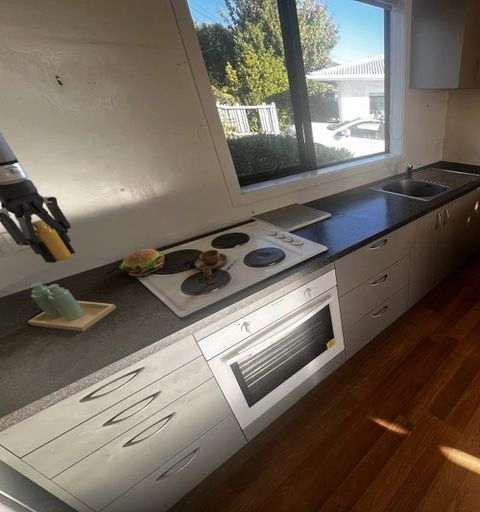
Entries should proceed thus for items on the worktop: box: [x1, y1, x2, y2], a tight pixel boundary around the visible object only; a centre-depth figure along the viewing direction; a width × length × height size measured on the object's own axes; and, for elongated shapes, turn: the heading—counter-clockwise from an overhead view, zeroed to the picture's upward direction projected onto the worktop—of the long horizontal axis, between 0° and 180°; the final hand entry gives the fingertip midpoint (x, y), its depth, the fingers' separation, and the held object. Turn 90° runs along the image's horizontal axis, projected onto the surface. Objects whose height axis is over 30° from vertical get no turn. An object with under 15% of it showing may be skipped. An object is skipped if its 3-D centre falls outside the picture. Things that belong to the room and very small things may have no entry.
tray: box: [27, 300, 117, 332], centre depth 92 cm, size 19×11×2 cm, turn 82°
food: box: [118, 248, 166, 277], centre depth 114 cm, size 14×14×8 cm
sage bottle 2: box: [47, 283, 84, 321], centre depth 89 cm, size 5×5×12 cm
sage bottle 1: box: [30, 281, 62, 319], centre depth 90 cm, size 5×5×12 cm
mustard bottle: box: [31, 219, 73, 263], centre depth 85 cm, size 5×5×12 cm
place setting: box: [187, 249, 237, 281], centre depth 114 cm, size 18×20×6 cm
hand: (61, 257), depth 88 cm, fingers closed on mustard bottle, 5 cm apart
